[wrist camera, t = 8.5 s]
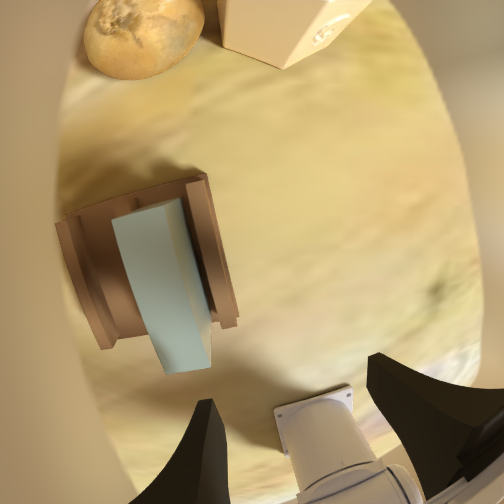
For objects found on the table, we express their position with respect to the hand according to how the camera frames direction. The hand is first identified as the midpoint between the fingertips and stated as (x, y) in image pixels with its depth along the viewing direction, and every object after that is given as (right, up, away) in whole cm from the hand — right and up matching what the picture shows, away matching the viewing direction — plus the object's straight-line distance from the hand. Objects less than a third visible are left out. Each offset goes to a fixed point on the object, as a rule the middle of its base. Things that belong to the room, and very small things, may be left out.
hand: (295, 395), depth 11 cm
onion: (-9, +22, +4) cm, 24 cm away
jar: (0, +23, +4) cm, 24 cm away
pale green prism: (-7, +6, +7) cm, 11 cm away
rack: (-9, +6, +8) cm, 13 cm away
